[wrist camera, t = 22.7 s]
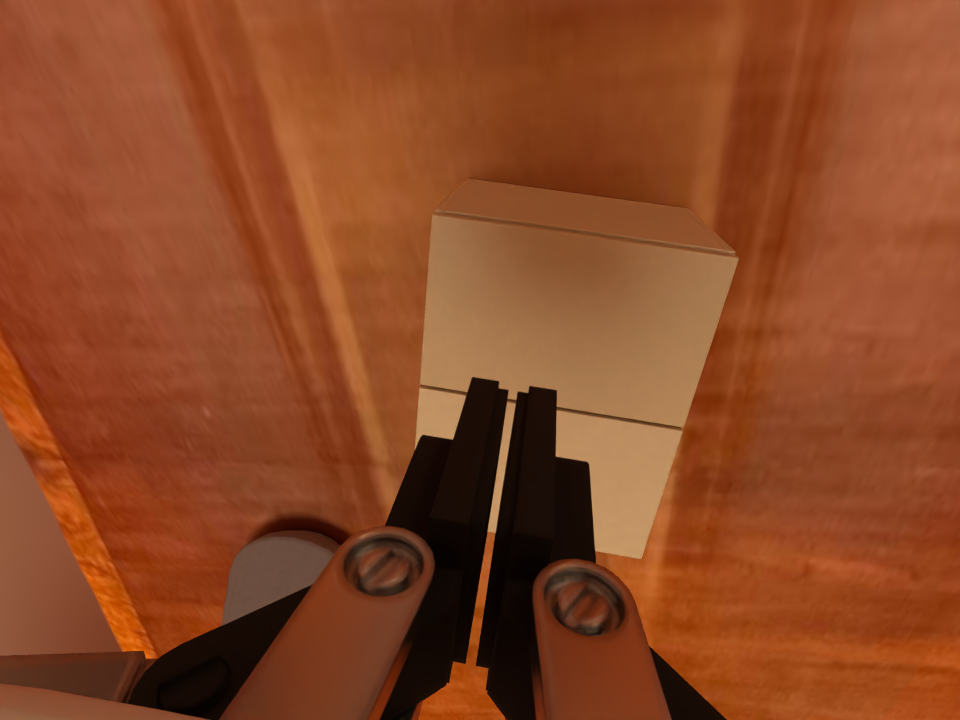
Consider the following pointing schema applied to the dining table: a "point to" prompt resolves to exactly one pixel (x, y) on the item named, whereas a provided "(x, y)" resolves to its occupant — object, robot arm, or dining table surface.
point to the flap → (571, 316)
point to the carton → (579, 434)
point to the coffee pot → (275, 569)
